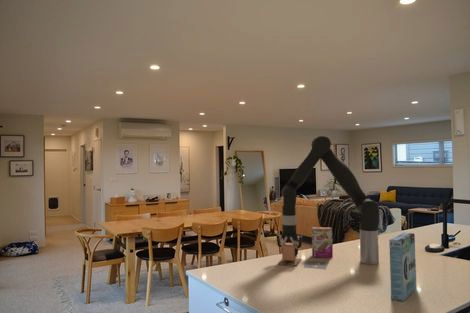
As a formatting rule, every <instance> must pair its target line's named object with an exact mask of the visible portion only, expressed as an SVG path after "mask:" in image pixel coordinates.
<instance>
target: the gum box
mask: <svg viewBox="0 0 470 313" xmlns="http://www.w3.org/2000/svg"><path fill="white" fill-rule="evenodd" d="M415 236H416V235H415V233H413V232H412V233H410V232H402V233H400V234H398V235H396V236H394V237H392V238H390V239H389V240H388V241H389V270H390V271H389V272H390V273H389V274H390V275H389V276H390V299H391V300H394V301H395V300H396V301H401V302H405V300H406V299H407V298H408V297H409V296H410V295H411V294H412V293H413V292H415V290H416V289H417V286H418V285H417V265H416V264H417V263H416V261H417V260H416V240H415V239H416V238H415Z"/></svg>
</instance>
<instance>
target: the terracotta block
mask: <svg viewBox="0 0 470 313" xmlns="http://www.w3.org/2000/svg"><path fill="white" fill-rule="evenodd" d="M293 243H294V242H293ZM293 243H286V244H285V245H283V246H282V253H281V255H282V256H281V259H282V260H292V261H294V260H295V258H297V257H298V255H297V256H295V246H294V245H293Z"/></svg>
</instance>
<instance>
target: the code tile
mask: <svg viewBox="0 0 470 313" xmlns="http://www.w3.org/2000/svg"><path fill="white" fill-rule="evenodd" d="M328 265H329V262H328V261H321V260H319V261H318V260H307V261H306V262H305V265H303V268H304V269H305V268H306V269H317V270H326V269H327V268H328Z"/></svg>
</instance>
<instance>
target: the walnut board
mask: <svg viewBox="0 0 470 313" xmlns="http://www.w3.org/2000/svg"><path fill="white" fill-rule="evenodd" d="M301 262H302V258H297V257H296V258H295V260H294V261H292V260H282V258H281V259H280V260H279V261H278V262H277V266H282V267H283V266H284V267H285V266H286V267H295V268H297V267H298V265H299V264H300V263H301Z"/></svg>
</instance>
